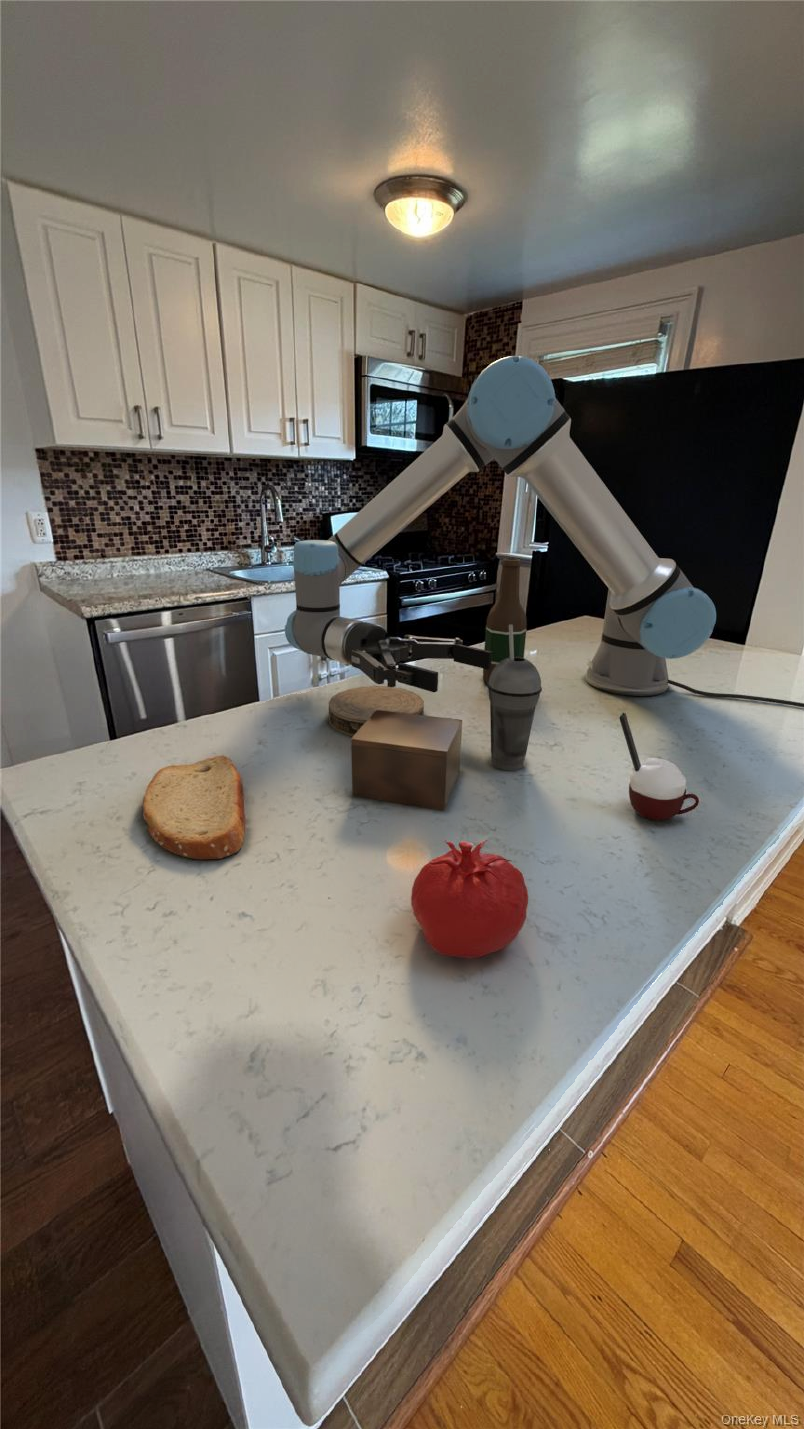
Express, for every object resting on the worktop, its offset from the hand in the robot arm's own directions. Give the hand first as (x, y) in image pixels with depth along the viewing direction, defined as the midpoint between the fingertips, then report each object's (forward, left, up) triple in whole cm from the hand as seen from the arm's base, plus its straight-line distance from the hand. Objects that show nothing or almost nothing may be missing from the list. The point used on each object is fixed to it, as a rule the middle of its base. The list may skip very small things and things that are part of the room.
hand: (465, 671), depth 81 cm
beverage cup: (-7, +3, -12) cm, 15 cm away
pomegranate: (-7, +37, -12) cm, 40 cm away
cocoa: (-25, +11, -12) cm, 30 cm away
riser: (+5, +13, -12) cm, 19 cm away
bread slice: (+27, +26, -12) cm, 39 cm away
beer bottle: (-2, -33, -12) cm, 35 cm away
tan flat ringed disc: (+16, -7, -12) cm, 21 cm away
